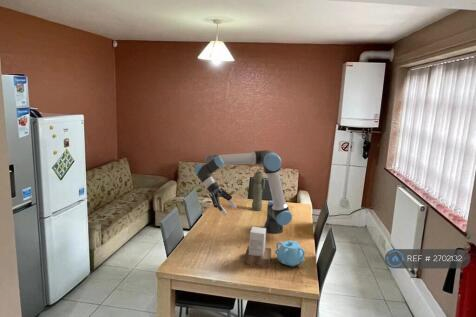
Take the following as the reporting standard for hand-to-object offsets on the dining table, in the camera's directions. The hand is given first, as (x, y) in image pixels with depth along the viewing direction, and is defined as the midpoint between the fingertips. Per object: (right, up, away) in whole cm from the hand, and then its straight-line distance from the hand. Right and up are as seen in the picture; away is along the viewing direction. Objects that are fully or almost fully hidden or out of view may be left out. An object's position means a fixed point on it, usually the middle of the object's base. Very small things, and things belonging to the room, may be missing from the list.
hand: (230, 211), depth 207 cm
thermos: (+22, -13, +86) cm, 90 cm away
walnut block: (+17, -30, -7) cm, 35 cm away
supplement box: (+16, -24, -9) cm, 31 cm away
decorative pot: (+37, -31, -7) cm, 48 cm away
